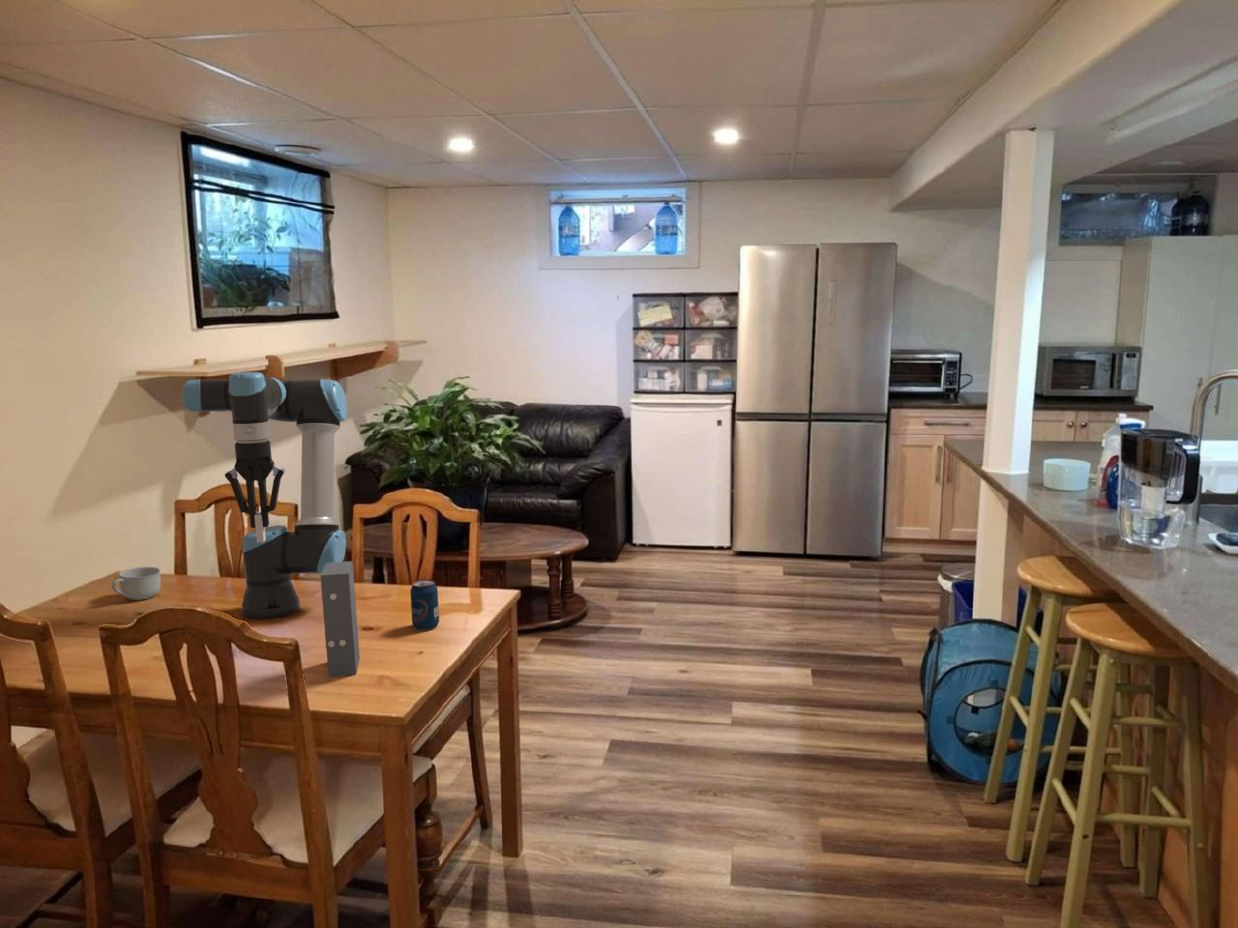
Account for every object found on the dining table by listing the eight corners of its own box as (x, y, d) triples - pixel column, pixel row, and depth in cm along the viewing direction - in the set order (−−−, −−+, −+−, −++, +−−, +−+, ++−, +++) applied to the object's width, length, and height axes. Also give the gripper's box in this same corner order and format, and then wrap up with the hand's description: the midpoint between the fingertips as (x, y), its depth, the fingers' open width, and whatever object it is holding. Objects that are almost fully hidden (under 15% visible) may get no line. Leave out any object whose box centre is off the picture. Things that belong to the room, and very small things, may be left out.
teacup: (151, 589, 266) (148, 563, 265) (170, 595, 260) (167, 569, 259) (103, 602, 255) (100, 575, 254) (121, 608, 249) (118, 581, 248)
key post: (328, 678, 198) (320, 576, 194) (333, 660, 209) (325, 563, 204) (356, 675, 200) (348, 574, 196) (359, 658, 210) (352, 561, 206)
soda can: (407, 629, 228) (404, 585, 226) (422, 620, 234) (419, 577, 232) (430, 632, 226) (427, 587, 224) (444, 623, 232) (442, 580, 230)
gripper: (217, 444, 195) (227, 547, 200) (279, 441, 198) (288, 543, 202) (225, 439, 203) (235, 538, 207) (285, 437, 205) (293, 535, 209)
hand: (261, 540), depth 204 cm, fingers closed
